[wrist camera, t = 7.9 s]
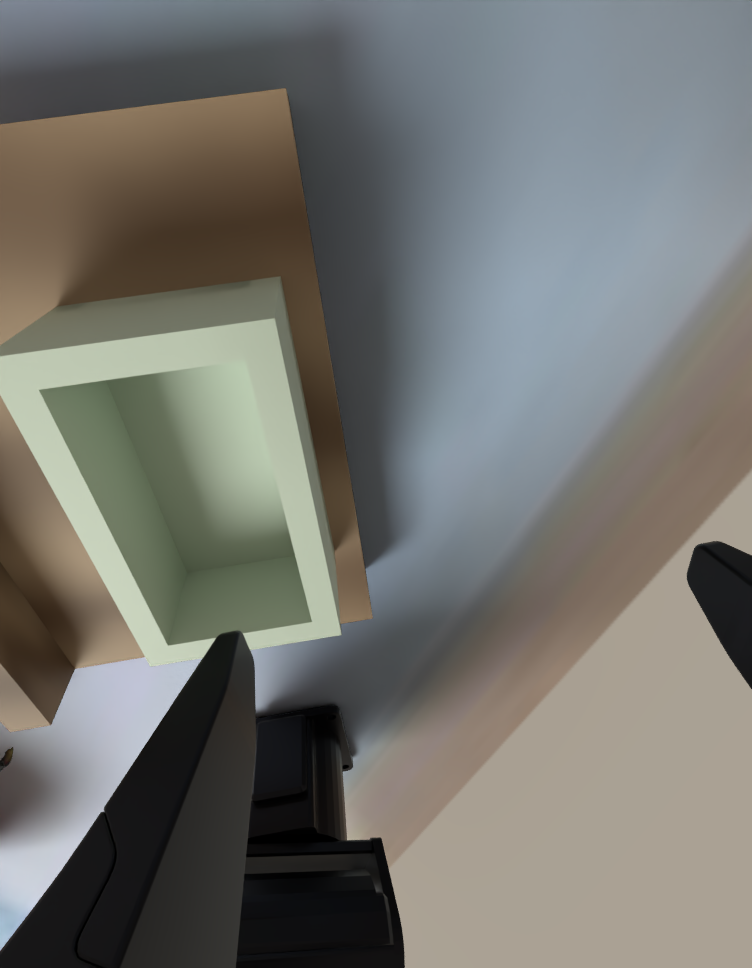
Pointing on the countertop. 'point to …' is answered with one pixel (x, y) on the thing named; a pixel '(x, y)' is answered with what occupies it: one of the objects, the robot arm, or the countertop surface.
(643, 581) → the countertop surface
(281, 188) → the walnut shelf
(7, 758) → the dragon fruit
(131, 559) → the sage tray
